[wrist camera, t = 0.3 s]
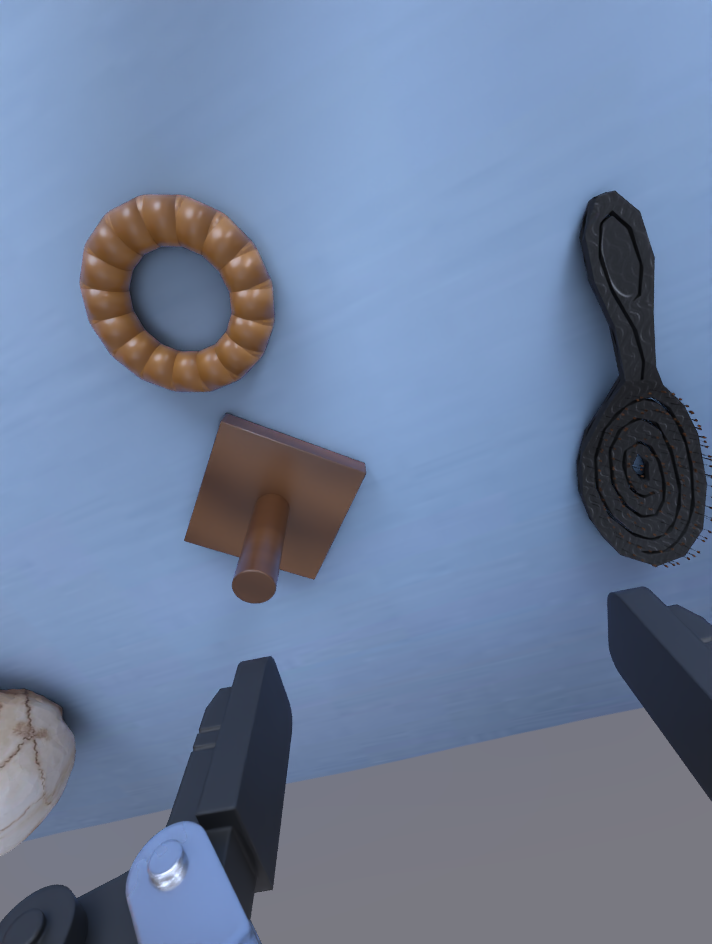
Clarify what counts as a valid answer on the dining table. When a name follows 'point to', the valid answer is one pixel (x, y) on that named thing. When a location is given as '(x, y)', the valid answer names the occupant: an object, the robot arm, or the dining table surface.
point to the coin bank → (30, 762)
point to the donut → (197, 230)
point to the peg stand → (271, 504)
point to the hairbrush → (636, 405)
